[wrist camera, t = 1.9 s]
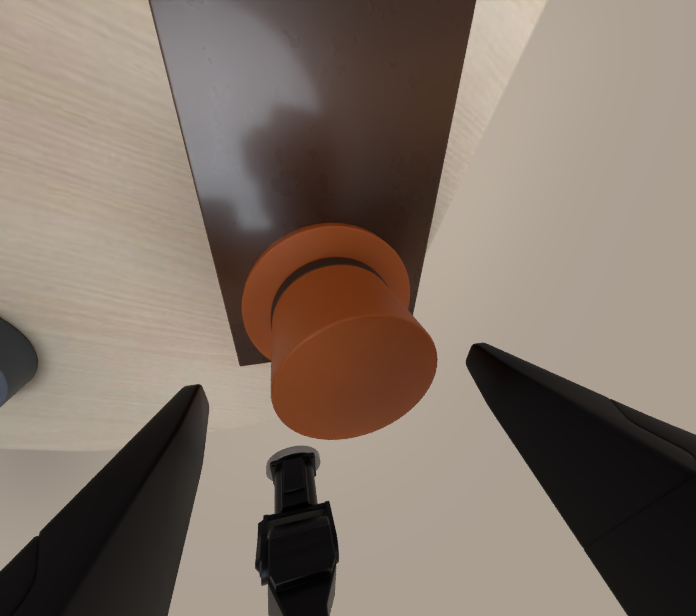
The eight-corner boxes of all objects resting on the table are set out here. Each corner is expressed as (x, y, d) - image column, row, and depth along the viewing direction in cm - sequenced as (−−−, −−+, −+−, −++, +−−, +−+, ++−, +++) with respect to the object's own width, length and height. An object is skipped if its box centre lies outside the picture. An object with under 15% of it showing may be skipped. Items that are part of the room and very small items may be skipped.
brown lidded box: (364, 279, 22) (410, 343, 14) (253, 287, 20) (239, 366, 12) (381, 59, 15) (491, -40, 7) (208, 35, 13) (112, -140, 5)
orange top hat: (394, 356, 15) (442, 435, 10) (257, 376, 13) (248, 481, 9) (417, 220, 11) (508, 261, 7) (225, 223, 9) (182, 282, 5)
